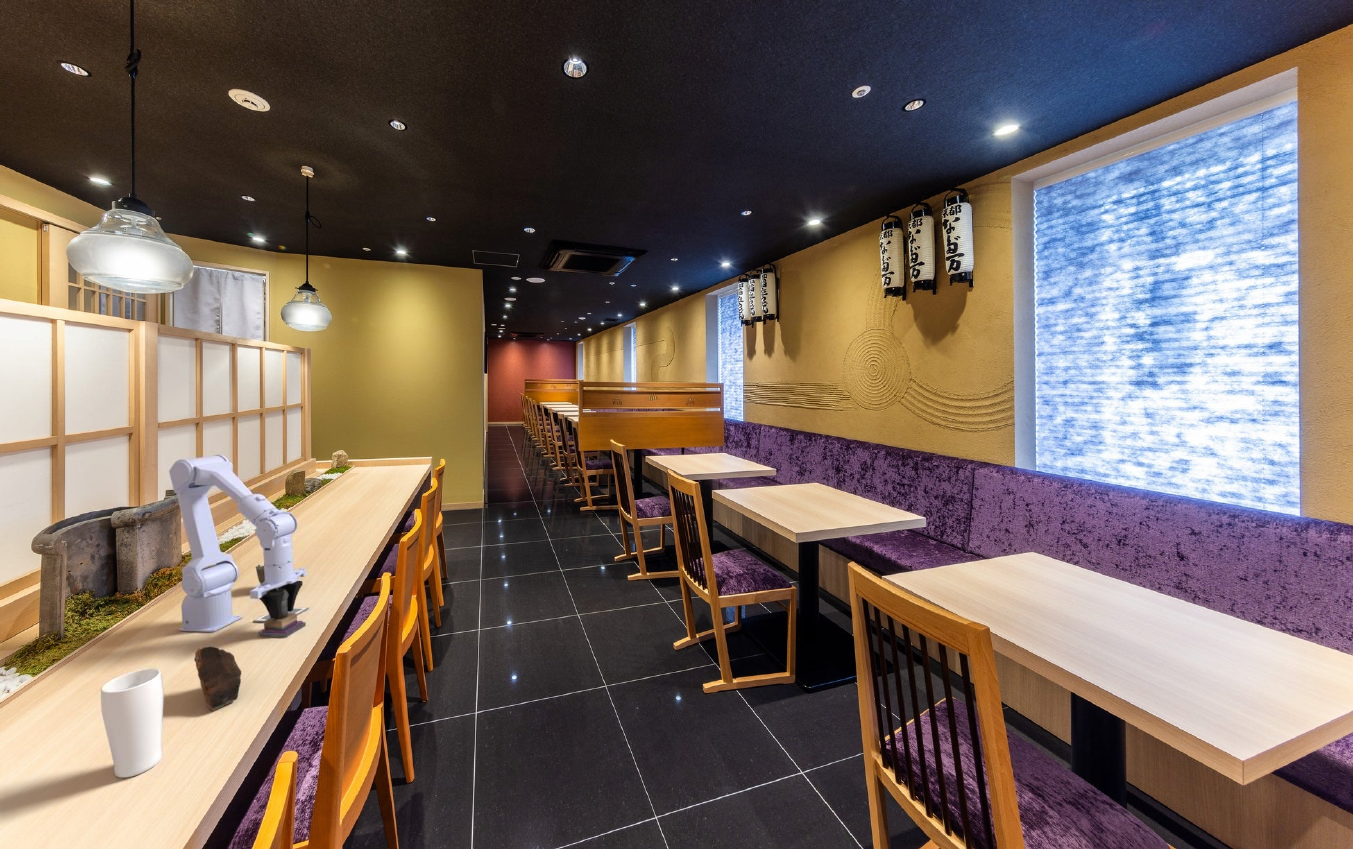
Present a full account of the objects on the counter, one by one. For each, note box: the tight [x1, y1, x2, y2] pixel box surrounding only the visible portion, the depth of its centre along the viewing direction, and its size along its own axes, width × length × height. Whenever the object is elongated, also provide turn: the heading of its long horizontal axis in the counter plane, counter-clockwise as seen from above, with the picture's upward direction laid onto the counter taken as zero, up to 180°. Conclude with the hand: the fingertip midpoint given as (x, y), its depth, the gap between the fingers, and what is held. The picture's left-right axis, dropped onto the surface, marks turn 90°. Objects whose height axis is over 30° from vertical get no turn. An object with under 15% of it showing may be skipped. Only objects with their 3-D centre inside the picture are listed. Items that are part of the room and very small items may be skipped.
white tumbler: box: [100, 668, 165, 779], centre depth 80 cm, size 7×7×15 cm
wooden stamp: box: [263, 589, 298, 630], centre depth 125 cm, size 5×5×9 cm
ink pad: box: [258, 620, 307, 639], centre depth 126 cm, size 7×6×2 cm
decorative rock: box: [193, 646, 242, 712], centre depth 99 cm, size 12×6×11 cm, turn 51°
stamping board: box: [252, 606, 310, 624], centre depth 134 cm, size 8×8×1 cm
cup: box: [255, 564, 278, 590], centre depth 151 cm, size 8×7×8 cm
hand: (281, 614), depth 125 cm, fingers closed on wooden stamp, 3 cm apart
